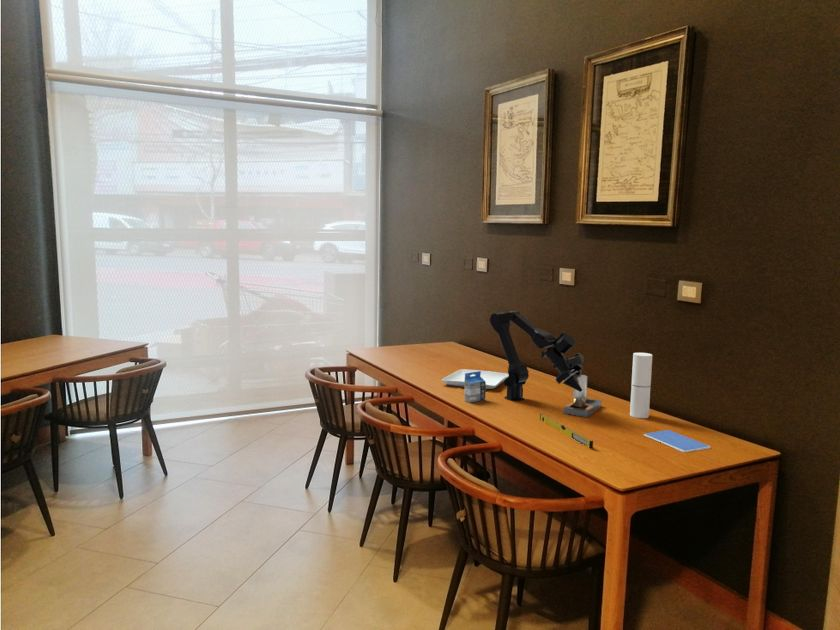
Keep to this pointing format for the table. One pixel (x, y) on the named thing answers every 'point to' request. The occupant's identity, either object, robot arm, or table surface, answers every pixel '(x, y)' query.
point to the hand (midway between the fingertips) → (583, 389)
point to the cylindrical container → (641, 385)
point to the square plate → (488, 376)
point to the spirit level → (566, 431)
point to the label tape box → (474, 387)
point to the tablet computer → (677, 441)
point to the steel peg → (580, 397)
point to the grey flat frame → (583, 408)
